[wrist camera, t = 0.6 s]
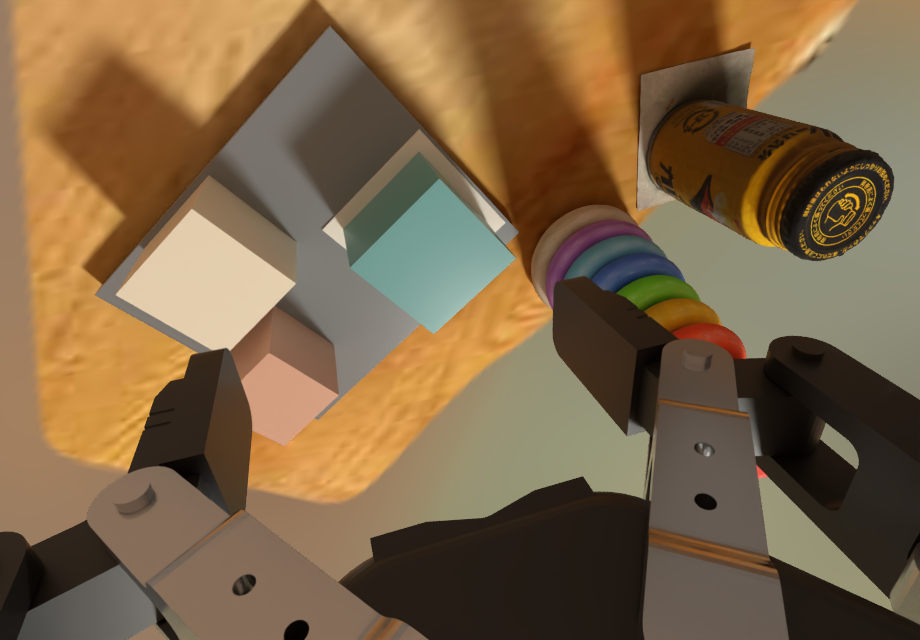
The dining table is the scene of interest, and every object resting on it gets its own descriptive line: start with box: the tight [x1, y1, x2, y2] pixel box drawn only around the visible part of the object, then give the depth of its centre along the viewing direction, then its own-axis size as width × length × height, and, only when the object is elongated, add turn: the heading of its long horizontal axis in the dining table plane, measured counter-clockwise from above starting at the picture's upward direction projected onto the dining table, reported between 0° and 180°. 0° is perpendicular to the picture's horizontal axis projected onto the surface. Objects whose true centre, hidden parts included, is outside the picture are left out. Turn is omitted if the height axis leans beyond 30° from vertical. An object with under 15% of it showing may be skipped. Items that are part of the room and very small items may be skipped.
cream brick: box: [116, 175, 297, 351], centre depth 26 cm, size 5×5×5 cm
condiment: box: [637, 48, 894, 261], centre depth 28 cm, size 7×8×12 cm
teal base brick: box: [343, 152, 516, 334], centre depth 28 cm, size 6×6×5 cm
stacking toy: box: [531, 205, 768, 478], centre depth 28 cm, size 8×8×19 cm
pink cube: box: [230, 306, 339, 446], centre depth 30 cm, size 5×5×5 cm
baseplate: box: [95, 25, 519, 420], centre depth 30 cm, size 18×15×1 cm
